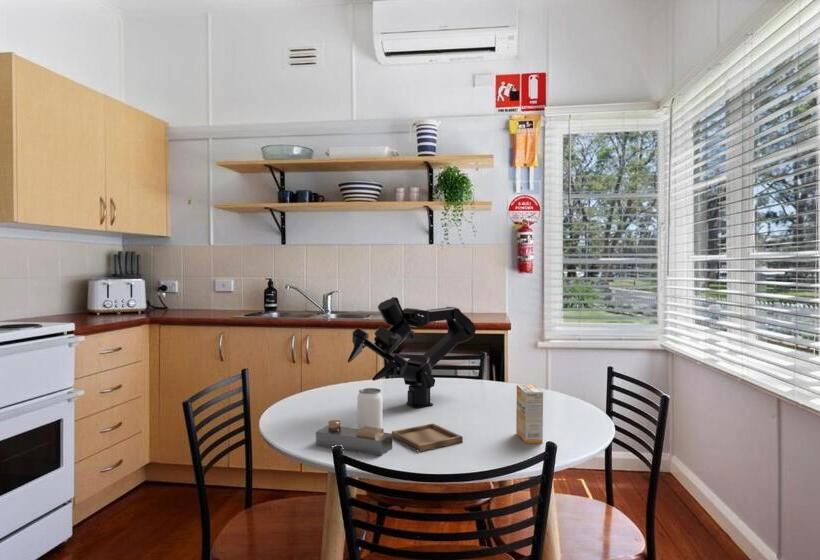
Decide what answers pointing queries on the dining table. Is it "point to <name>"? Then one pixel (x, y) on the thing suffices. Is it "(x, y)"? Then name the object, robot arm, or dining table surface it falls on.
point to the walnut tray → (426, 437)
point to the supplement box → (529, 414)
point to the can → (369, 408)
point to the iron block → (354, 438)
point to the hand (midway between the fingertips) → (360, 370)
